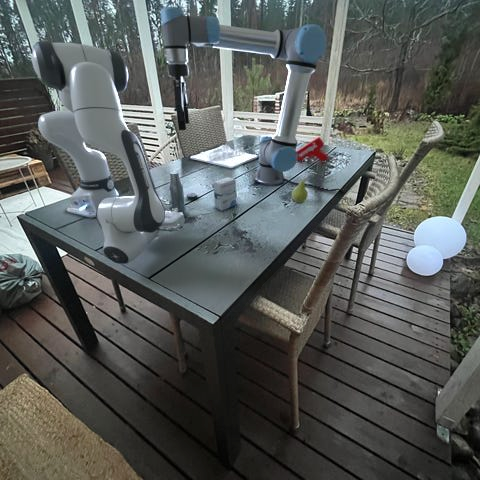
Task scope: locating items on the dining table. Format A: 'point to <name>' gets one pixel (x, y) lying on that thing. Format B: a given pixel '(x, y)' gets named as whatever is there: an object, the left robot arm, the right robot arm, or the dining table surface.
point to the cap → (191, 196)
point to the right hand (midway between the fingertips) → (184, 126)
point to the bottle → (177, 192)
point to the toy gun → (312, 150)
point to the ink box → (225, 193)
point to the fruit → (300, 192)
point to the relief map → (225, 156)
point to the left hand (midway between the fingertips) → (163, 208)
